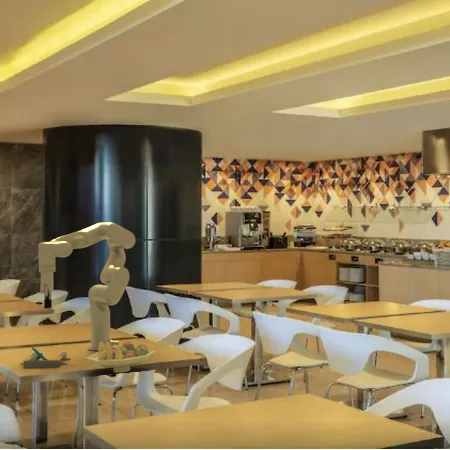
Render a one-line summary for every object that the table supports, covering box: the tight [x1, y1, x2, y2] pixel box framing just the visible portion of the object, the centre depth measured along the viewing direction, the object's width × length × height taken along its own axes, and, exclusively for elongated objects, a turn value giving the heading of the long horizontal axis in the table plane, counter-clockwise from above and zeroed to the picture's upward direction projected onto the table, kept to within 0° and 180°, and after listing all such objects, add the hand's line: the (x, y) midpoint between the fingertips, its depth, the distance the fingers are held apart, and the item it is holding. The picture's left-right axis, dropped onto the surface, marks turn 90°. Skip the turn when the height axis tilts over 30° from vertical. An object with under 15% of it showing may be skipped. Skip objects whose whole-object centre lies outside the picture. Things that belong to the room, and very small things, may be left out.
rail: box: [20, 351, 71, 369], centre depth 336 cm, size 20×24×3 cm
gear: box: [31, 346, 48, 360], centre depth 333 cm, size 11×6×10 cm
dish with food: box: [86, 341, 156, 373], centre depth 315 cm, size 28×28×14 cm
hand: (48, 308), depth 349 cm, fingers closed
